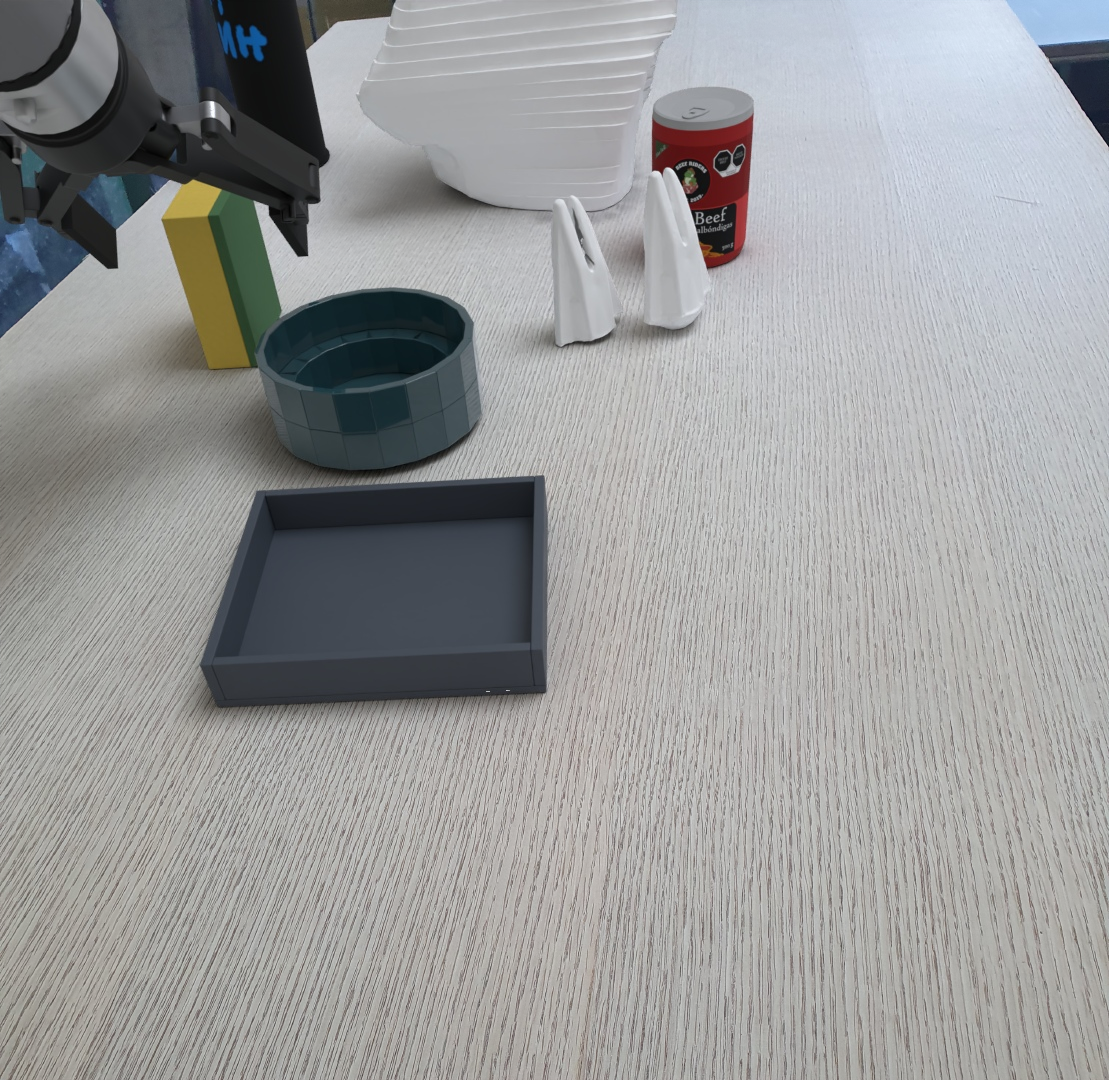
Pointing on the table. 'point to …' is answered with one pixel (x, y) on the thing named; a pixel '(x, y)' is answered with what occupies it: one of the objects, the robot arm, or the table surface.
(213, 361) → the sponge
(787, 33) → the table surface
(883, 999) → the table surface
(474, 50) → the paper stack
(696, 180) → the canned food
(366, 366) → the bowl
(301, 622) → the tray
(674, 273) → the shaker set
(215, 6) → the aerosol can
